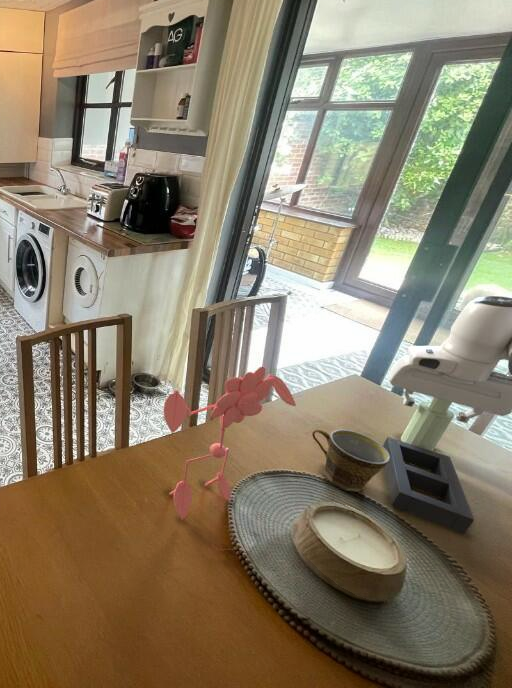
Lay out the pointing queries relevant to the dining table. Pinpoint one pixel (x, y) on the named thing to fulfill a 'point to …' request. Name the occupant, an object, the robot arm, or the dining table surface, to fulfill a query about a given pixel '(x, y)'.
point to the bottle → (428, 424)
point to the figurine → (223, 422)
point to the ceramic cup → (352, 458)
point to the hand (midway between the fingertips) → (433, 412)
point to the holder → (426, 485)
